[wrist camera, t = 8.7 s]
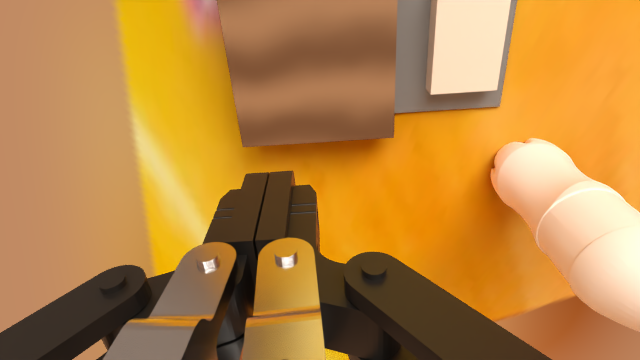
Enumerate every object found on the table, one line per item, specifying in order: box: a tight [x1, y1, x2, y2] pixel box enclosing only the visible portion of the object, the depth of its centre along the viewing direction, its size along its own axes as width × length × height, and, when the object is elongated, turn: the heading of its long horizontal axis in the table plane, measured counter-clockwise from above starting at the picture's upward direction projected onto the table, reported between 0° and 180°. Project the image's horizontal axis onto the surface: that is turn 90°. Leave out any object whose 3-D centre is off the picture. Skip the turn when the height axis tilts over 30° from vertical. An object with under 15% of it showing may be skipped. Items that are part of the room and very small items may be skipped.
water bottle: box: [490, 138, 640, 332], centre depth 31 cm, size 7×7×25 cm
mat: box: [394, 0, 517, 113], centre depth 35 cm, size 15×11×1 cm
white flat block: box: [425, 0, 511, 95], centre depth 34 cm, size 9×6×2 cm, turn 4°
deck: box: [217, 0, 398, 147], centre depth 34 cm, size 16×14×4 cm
